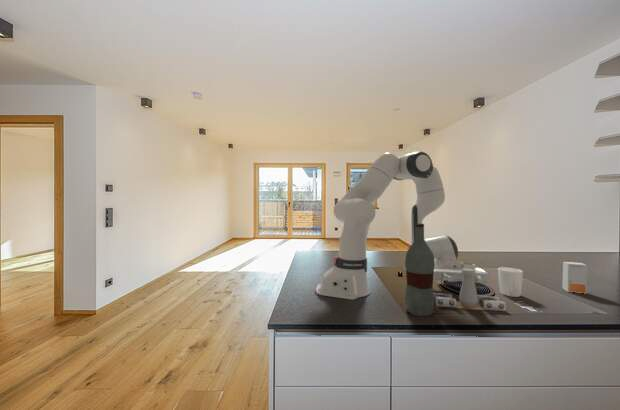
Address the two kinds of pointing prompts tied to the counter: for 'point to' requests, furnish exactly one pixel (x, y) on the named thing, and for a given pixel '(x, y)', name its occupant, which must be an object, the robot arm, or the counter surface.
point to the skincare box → (574, 277)
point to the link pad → (477, 307)
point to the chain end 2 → (491, 303)
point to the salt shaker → (468, 289)
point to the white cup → (510, 281)
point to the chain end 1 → (444, 300)
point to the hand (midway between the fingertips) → (465, 280)
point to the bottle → (419, 276)
